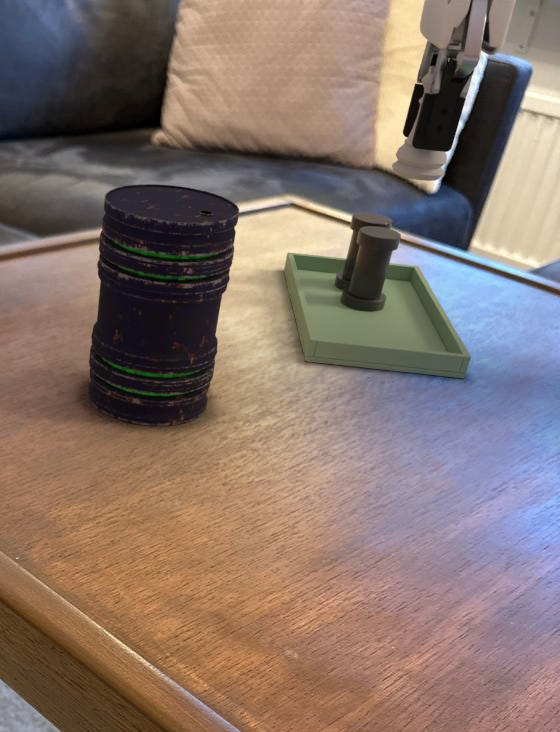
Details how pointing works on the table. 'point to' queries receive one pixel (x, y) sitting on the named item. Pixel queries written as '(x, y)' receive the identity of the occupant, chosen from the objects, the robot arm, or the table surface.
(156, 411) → the dark barrel
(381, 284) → the black piece
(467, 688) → the table surface
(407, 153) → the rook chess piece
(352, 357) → the piece tray
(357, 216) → the black piece
